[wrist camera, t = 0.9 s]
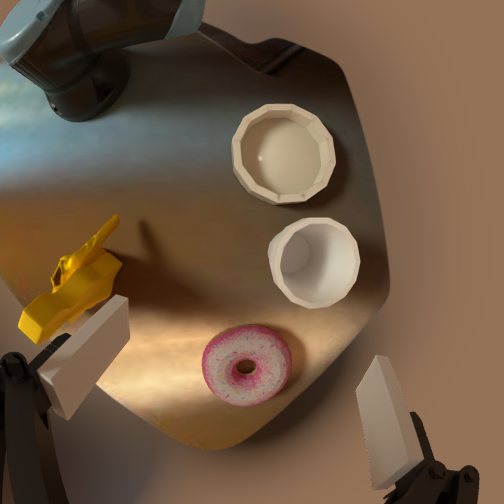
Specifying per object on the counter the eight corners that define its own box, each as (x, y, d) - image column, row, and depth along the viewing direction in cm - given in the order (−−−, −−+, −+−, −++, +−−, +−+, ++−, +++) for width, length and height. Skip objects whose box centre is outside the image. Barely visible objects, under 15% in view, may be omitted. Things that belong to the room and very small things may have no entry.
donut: (262, 303, 41) (268, 313, 36) (301, 368, 43) (310, 383, 38) (185, 346, 41) (182, 360, 36) (231, 405, 42) (232, 423, 37)
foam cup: (319, 220, 41) (360, 217, 28) (319, 281, 42) (358, 303, 29) (255, 221, 40) (272, 218, 27) (257, 285, 41) (274, 311, 28)
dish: (228, 116, 38) (229, 105, 34) (318, 114, 40) (326, 105, 36) (236, 208, 40) (238, 206, 36) (329, 201, 41) (340, 199, 37)
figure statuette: (115, 208, 38) (23, 193, 16) (154, 239, 39) (85, 254, 17) (62, 299, 38) (-27, 346, 16) (97, 329, 39) (22, 399, 17)
